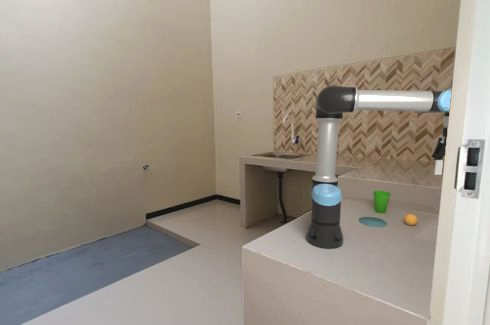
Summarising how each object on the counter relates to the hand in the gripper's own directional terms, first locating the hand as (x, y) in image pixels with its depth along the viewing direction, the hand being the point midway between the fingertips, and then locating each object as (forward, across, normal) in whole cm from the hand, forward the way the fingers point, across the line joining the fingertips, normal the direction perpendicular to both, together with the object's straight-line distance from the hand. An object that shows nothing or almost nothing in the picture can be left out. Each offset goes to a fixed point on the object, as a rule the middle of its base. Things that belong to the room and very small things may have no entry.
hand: (449, 177), depth 115 cm
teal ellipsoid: (+26, +19, +22) cm, 39 cm away
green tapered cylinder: (+27, +33, +11) cm, 44 cm away
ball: (+24, +14, +6) cm, 28 cm away
